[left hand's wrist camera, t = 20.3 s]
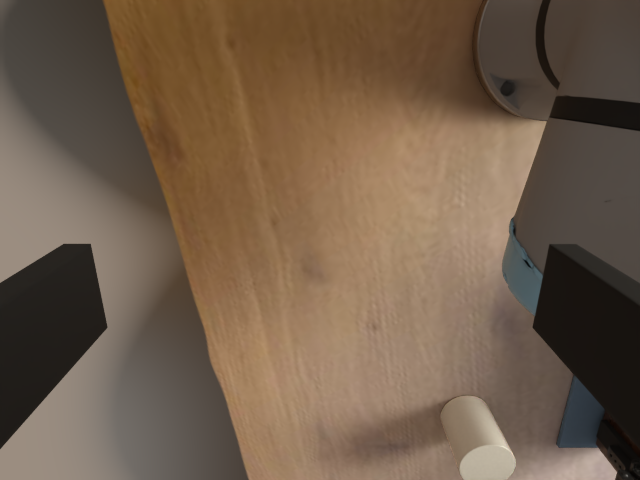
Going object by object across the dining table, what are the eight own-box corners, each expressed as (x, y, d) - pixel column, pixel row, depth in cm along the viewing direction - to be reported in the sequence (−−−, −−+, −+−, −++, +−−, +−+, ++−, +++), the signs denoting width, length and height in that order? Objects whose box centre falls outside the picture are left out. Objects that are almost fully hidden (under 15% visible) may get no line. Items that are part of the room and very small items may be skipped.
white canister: (442, 395, 54) (462, 445, 46) (492, 395, 54) (520, 445, 46) (437, 433, 56) (456, 487, 49) (485, 433, 56) (511, 487, 49)
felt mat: (604, 252, 47) (608, 254, 47) (729, 252, 47) (734, 254, 47) (556, 444, 57) (558, 447, 56) (659, 444, 57) (663, 447, 56)
